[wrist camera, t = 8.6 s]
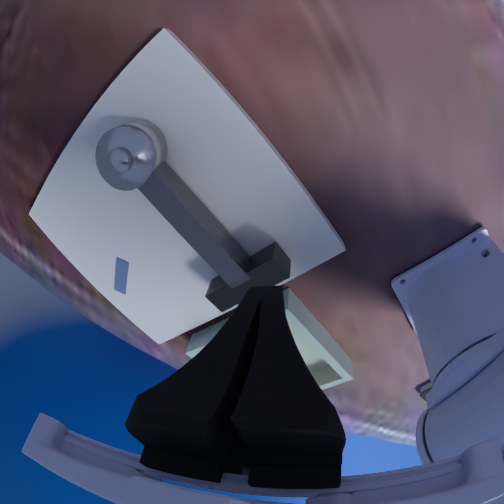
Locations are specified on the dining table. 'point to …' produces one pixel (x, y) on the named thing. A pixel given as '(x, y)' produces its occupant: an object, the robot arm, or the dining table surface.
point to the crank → (186, 212)
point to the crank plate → (194, 176)
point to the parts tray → (299, 344)
